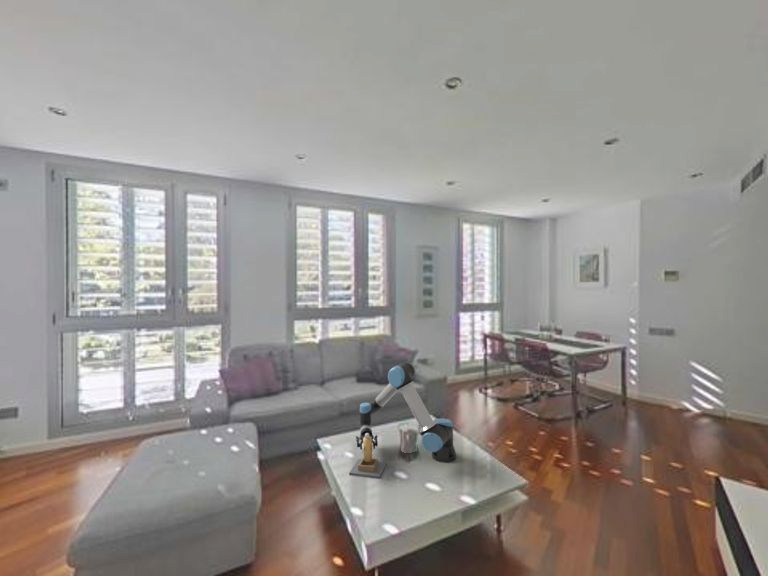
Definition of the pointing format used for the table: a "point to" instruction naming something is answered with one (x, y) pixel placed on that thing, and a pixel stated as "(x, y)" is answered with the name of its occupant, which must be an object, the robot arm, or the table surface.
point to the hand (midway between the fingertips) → (368, 450)
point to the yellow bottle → (367, 448)
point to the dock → (368, 468)
